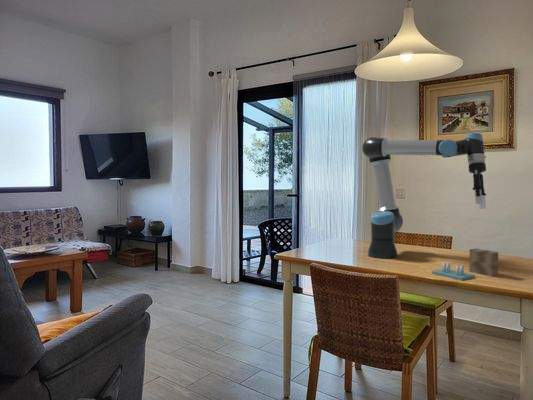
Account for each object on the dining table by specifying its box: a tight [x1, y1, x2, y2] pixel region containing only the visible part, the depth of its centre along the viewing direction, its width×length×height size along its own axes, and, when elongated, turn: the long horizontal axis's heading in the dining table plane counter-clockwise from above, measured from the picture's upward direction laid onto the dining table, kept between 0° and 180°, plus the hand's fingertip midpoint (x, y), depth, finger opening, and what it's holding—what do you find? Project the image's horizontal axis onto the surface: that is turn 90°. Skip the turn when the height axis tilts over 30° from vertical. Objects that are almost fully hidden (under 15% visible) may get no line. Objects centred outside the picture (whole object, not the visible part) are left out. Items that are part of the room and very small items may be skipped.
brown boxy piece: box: [468, 248, 499, 277], centre depth 173 cm, size 10×4×10 cm, turn 30°
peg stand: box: [431, 262, 476, 281], centre depth 171 cm, size 14×9×4 cm, turn 30°
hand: (481, 206), depth 193 cm, fingers open, 13 cm apart
